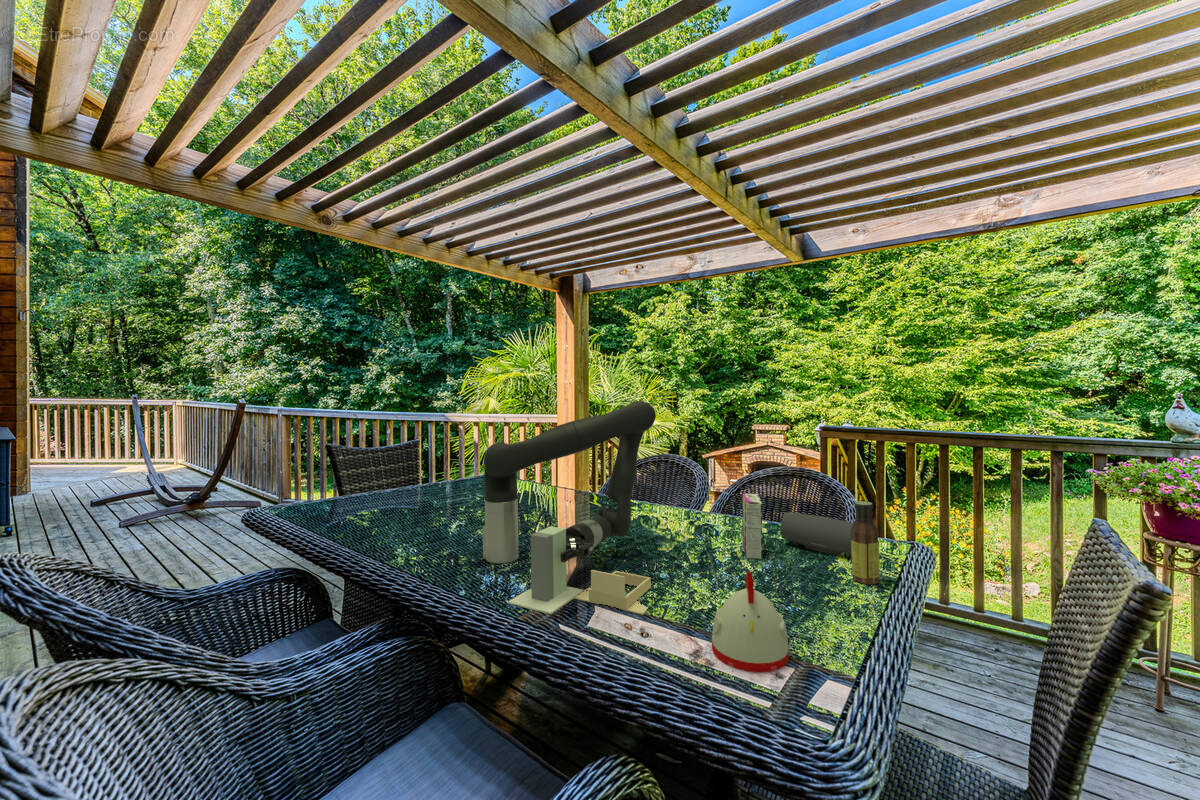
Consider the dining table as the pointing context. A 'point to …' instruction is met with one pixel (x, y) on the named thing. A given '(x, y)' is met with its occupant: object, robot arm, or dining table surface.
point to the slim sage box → (548, 563)
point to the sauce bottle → (865, 545)
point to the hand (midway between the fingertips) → (547, 555)
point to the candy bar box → (752, 526)
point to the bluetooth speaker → (817, 532)
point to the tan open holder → (616, 590)
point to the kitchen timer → (750, 632)
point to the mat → (542, 606)
